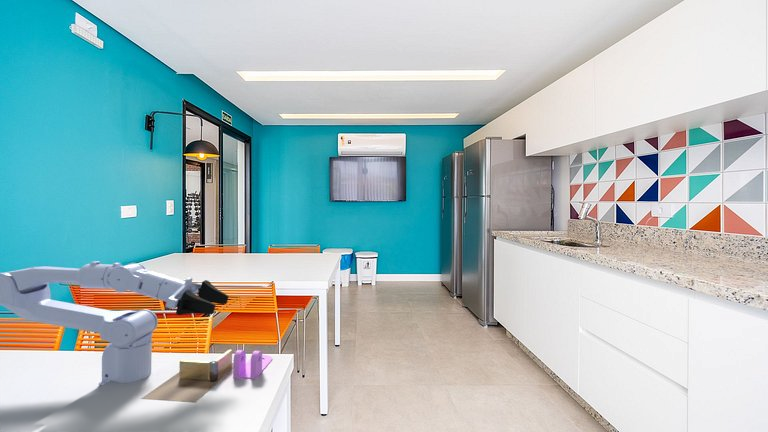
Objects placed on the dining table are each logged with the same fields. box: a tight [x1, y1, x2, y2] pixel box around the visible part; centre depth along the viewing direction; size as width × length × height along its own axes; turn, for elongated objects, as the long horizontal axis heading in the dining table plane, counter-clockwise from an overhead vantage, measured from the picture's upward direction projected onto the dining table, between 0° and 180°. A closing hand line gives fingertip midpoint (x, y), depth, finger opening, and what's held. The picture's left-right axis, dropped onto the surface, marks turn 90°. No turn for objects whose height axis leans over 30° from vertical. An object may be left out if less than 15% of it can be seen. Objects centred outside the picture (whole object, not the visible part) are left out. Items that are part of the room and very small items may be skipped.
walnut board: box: [141, 362, 233, 403], centre depth 85 cm, size 12×19×1 cm, turn 175°
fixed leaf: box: [209, 349, 233, 382], centre depth 88 cm, size 2×9×4 cm, turn 175°
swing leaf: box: [178, 359, 211, 380], centre depth 85 cm, size 1×7×4 cm, turn 86°
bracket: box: [232, 349, 273, 380], centre depth 93 cm, size 13×6×7 cm, turn 177°
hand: (220, 304), depth 87 cm, fingers open, 7 cm apart
